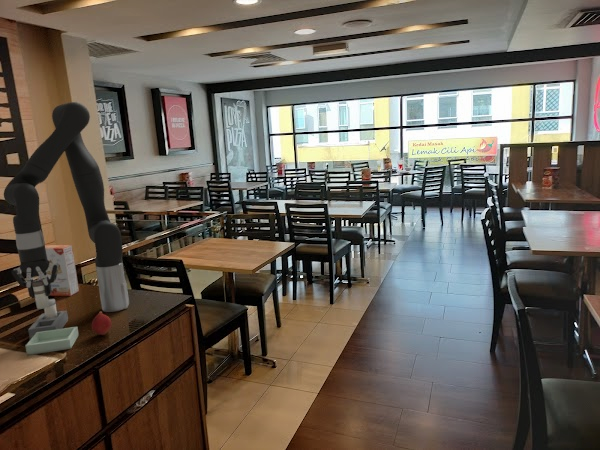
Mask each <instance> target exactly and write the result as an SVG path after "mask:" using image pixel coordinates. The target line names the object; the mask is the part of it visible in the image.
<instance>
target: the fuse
mask: <svg viewBox="0 0 600 450" xmlns="http://www.w3.org/2000/svg"><path fill="white" fill-rule="evenodd" d="M48 300H49V305H50V306H49V307H47V308H43V310H44V313H45V317H46V319H48V318H56V317H58V315H57V312H58V311H57V304H56V299H55V298H48Z"/></svg>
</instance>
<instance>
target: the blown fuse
mask: <svg viewBox="0 0 600 450" xmlns="http://www.w3.org/2000/svg"><path fill="white" fill-rule="evenodd" d="M44 285H45V284H44V282H43V280H42V279H33V281H32V286H33V292H34V296H35V298H34V300H35V305H36V309H37V310H42V309H43V310H44V308H47V307H49V306H50V305H49V300H48V299H49V296H46V293H45V288H44Z"/></svg>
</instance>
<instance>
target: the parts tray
mask: <svg viewBox="0 0 600 450" xmlns="http://www.w3.org/2000/svg"><path fill="white" fill-rule="evenodd" d="M79 335H80V334H79V329H78V326H70V327H65V328H64V327H63V328H62V329H56V330H49V331H42V332H36V334H35V335H34V336H33V337H32V338H31V340H30V339H29V341H28V342H27V343H26V344H25V351H26V356H30V355H36V354H37V355H38V354H44V353H45V354H46V353H49V352H51V353H53V352H58V351H64V350H71V349H72V347H73V345H74V344H75V343H76V341H77V339H78V337H79Z"/></svg>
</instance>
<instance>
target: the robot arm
mask: <svg viewBox="0 0 600 450" xmlns="http://www.w3.org/2000/svg"><path fill="white" fill-rule="evenodd" d="M51 117H52V118H51V119H52V123H53V125H54V128H55V129H54V130H53V132H52V133H51V134H50V135H49V136H48V137H47V138H46V139H45V140H44V141H43V142H42V143H41V144H40V145H39V146H38V147H37V148H36V149H35V150H34V151H33V153H32V154H31V156H29V159H28V160H27V162H26V163H25V165H24V166H23V168H22V169H21V170H20V171H19V172H18V173H17V174H16V175H15V176H14V177H13V178H12V179H11V180H10V181H9V182H8V184H7V185H6V187H5V188H4V190H3V198H4V200H5V202H6V203H8V204H10V205H12V206H15V207H16V214H15V215H14V216H13V217H12V223H13V224H12V225H13V228H14V234H15V243H16V248H17V253H18V258H19V263H20V265H19V267H17V268H14V269H13V270H11V272H10V273H11V274H12V276H13V278H14V279H15V280H16V282H17V283H18V285H19V286H20V287H25V288H27V291H28V292H27V293H28V296H29V297H30V298H31V299H35V296H34V292H33V286H32V281H34V280H35V279H34V278H35V277H38V276H40V278H41V279H42V280H43V282H44V284H45V285H44V288H45V293H46V296H48V297H49V295H50V294H51V292H52V289H51V283H53V282H54V281H55V280H56V277H57V273H58V268H59V264H58V263H56V264H52V263H50V262H49V261H48V259H47V254H46V249H45V245H46V243H45V240H44V234H43V232H42V229H41V222H40V218H39V214H40V195H39V192H38V190H37V188H36V186H38V185H39V184H41V183H43V182H45V180H47V178H48V177H49V175H50V173H51V172H52V171H53V169H54V167H55V166H56V164H57V162H58V161H59V160H60V158H61V157H62V155H63V154H64V153H65V156H66V157H65V158H66V160H67V162H68V163H67V164H68V166H69V169H70V174H71V177H72V181H73V184H74V187H75V190H76V193H77V195H78V199H79V201H80V204H81V206H82V208H83V212H84V216H85V222H86V226H87V227H86V228H87V232H88V237H89V239H90V240H91V242H92V243H93V244H94V247H95V258H94V264H95V271H96V276H97V277H96V278H97V283H98V290H99V298H100V304H101V311H102V312H105V313H111V312H112V313H114V312H119V311H122V310H125V309H128V308H129V304H130V298H129V293H128V292H129V291H128V285H127V280H126V278H125V271H124V270H125V269H124V264H123V257H124V256H123V254H124V251H123V241H122V233H121V231H120V228H119V226H118V225H117V224H115V223H113V222H111V219H110V218H109V214H108V212H107V209H106V205H105V186H104V180H103V177H102V173H101V169H100V167H99V164H98V162H97V161H96V159H95V158H94V157H93V155H92V154H91V152H90V151H89V149H88V148H87V147H86V145H85V143H84V140H83V137H82V133H81V132H83V130H84V129H85V128H86V127H87V126H88V124H89V122H90V118H91V115H90V111H89V110H88V108H87V107H86V106H85V105H84V104H83V103H80V102H77V101H76V102H73V101H72V102H71V101H70V102H67V103H62V104H59V105H57V106H55V107H54V109H52V113H51ZM48 267H50V270H52V273H51V278H50V279H49V277H48V273H47V269H48ZM22 272H23V273H24V274H25V275H26V279H25V277H24V276H23V275H22Z"/></svg>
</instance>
